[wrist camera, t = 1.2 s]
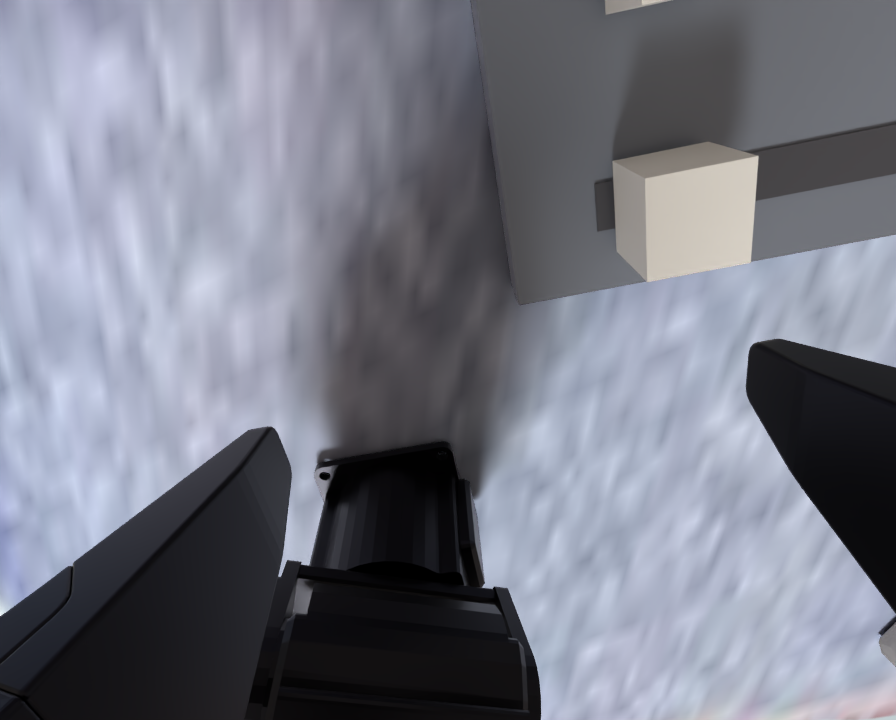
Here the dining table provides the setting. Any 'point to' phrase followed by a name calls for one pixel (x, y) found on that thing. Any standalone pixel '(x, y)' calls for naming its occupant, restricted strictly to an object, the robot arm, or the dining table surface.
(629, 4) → the tab
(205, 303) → the dining table surface
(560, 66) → the switch panel
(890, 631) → the electrical switch
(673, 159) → the beige cube
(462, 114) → the dining table surface
